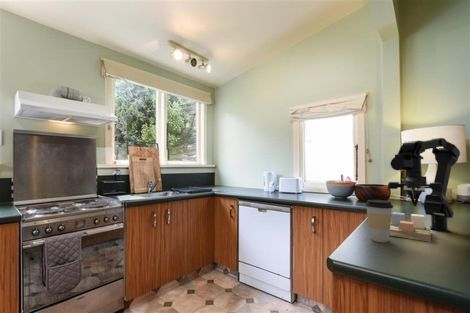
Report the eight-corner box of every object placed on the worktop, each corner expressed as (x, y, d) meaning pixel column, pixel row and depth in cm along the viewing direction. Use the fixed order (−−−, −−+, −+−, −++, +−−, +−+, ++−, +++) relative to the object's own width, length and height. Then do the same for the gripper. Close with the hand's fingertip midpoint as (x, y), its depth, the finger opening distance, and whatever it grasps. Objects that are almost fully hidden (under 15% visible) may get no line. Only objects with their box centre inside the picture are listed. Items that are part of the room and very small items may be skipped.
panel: (389, 227, 113) (388, 222, 113) (430, 232, 104) (429, 227, 104) (384, 234, 101) (384, 228, 101) (430, 241, 91) (430, 235, 91)
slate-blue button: (392, 223, 111) (392, 212, 111) (404, 224, 108) (404, 213, 108) (391, 224, 107) (391, 213, 108) (404, 226, 104) (403, 214, 105)
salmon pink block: (400, 232, 102) (400, 220, 102) (414, 234, 99) (413, 222, 100) (400, 234, 99) (399, 222, 99) (413, 236, 96) (413, 224, 96)
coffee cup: (368, 235, 100) (367, 198, 100) (395, 239, 94) (394, 200, 94) (363, 240, 92) (362, 201, 93) (392, 245, 86) (391, 203, 87)
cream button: (411, 225, 106) (411, 213, 107) (424, 226, 104) (424, 215, 104) (411, 227, 103) (410, 215, 103) (424, 228, 100) (424, 216, 100)
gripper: (385, 170, 104) (387, 206, 103) (442, 170, 93) (445, 211, 92) (388, 169, 113) (390, 203, 112) (440, 169, 101) (442, 206, 101)
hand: (414, 205), depth 104 cm, fingers closed
